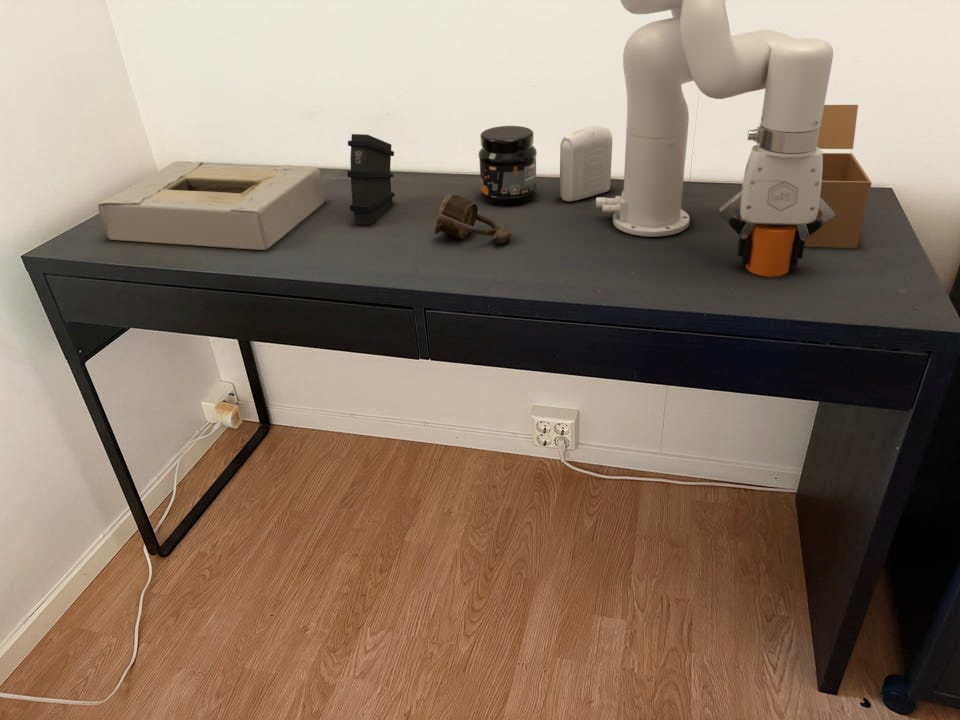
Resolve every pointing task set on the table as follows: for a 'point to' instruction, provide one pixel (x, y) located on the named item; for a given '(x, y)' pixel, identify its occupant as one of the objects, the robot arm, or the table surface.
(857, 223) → the carton
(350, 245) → the table surface
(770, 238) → the orange cylinder
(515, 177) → the supplement container
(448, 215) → the brown knobbed piece
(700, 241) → the table surface
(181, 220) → the box
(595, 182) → the white rounded upright block
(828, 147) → the flap
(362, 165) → the black banded case
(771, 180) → the robot arm
